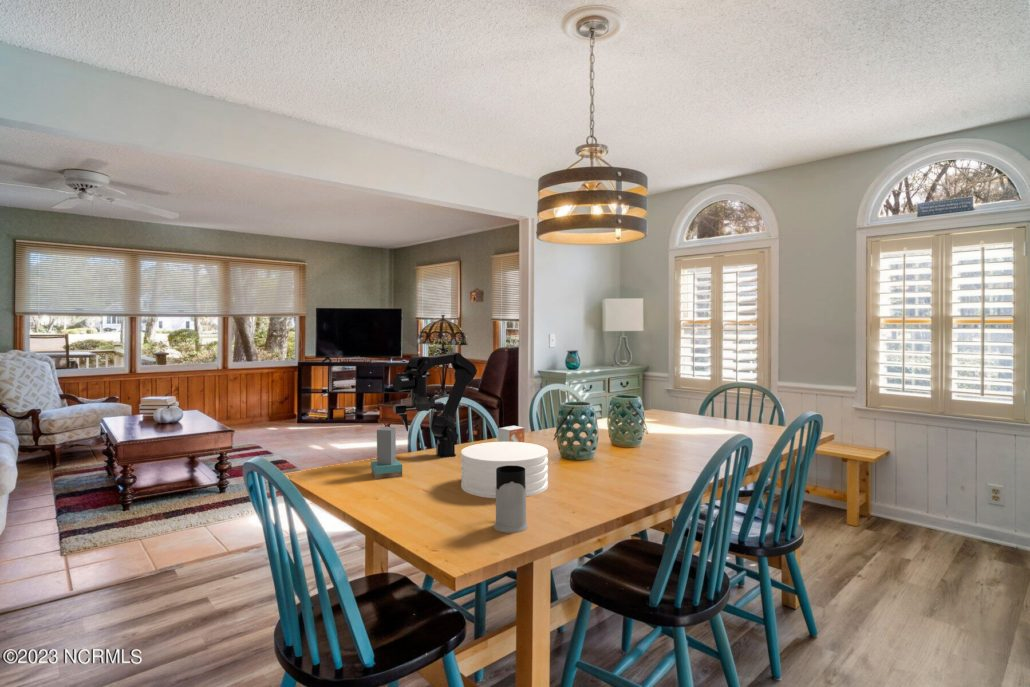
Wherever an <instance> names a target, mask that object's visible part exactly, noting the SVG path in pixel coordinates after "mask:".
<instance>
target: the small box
mask: <svg viewBox="0 0 1030 687" xmlns="http://www.w3.org/2000/svg"><path fill="white" fill-rule="evenodd" d="M497 433H498V437H497V438H498V441H497V442H524V443H525V427H523V426H518V425H509V426H504V427H499V428H498V432H497Z"/></svg>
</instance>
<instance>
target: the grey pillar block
mask: <svg viewBox="0 0 1030 687" xmlns="http://www.w3.org/2000/svg"><path fill="white" fill-rule="evenodd" d="M396 443H397V442H396V426H381V427H379V428H378V429H377V430H376V461H377V464H381V465H392V464H393V463H394V462H395V461H396V459H397V454H396V452H397V450H396V448H397V447H396V446H397V444H396Z"/></svg>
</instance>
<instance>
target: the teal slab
mask: <svg viewBox="0 0 1030 687" xmlns="http://www.w3.org/2000/svg"><path fill="white" fill-rule="evenodd" d="M370 469H371V471H372V470H373V471H374V473H375V474H384V473H393V472H402V473H403V464H402V463H401V462H400V461H399V460H398V459H397V458H396V461H395V462H394V463H393V464H392V465H381V464H377V460H371V461H370Z"/></svg>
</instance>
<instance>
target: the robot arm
mask: <svg viewBox="0 0 1030 687" xmlns="http://www.w3.org/2000/svg"><path fill="white" fill-rule="evenodd" d="M449 364H450V365H451V367H452V369H453V370H454V374H453V375H454V384H453V386H452V388H451V391H450V394H449V395H448V398H447V401H446V403H445V404H444V402H441V401H435V400H436V398H435V397H434V396H431V397H430V396H428V392H427V388H428V387H427V386H428V385H427V378H428V377H431V376H432V375H431V373H429V370H432V369H433V368H435V367H437V366H443V365H449ZM477 372H478V371H477V366H476V365H475V364H474V363H472V362H471V361H470V360H468V359H467V358H465V357H464V356H463V355H462V354H461V353H459V352H449V353H444V354H438V355H431V356H422V355H421V356H419V355H418V356H417V355H412V356H411V357H409V360H408V362H407V364H406V366H405V367H404V370H403V371H402V372H396V373H395V377H393V379H392V383H391V384H392V388H393V390H394V391H395V392H397V393H398V392H406V391H410V396H411V402H410V405H407V404H404V403H397V404H394V405H393V407H392V410H393V413H394V414H396V415H397V416H400V418H401V420H402V422H403V425H404V427H405V430H406V432H409V424H408V413H407V412H408V411H417V412H418V413H419V412H429V411H430V413H429V415H430V418H429V420H430V421H429V422H430V423H429V427H430V428H429V429H430V430H431V432H432V436H433V437H434V440H437V443H436V444H435V454H436V455H437V456H438V457H439V458H447V457H448V458H449V457H456V456H457V454H456V452H455V451H456V450H455V448H456V447H455V446H456V444H455V443H456V442H457V441H458V440H459V434H458V432H456V430H454V428H455V420H454V418H455V415H456V413H457V410H458V408H459V406H460V404H461V400H462V398H463V396H464V393H465V390H466V388H467V386H468V385H469V384H470V383H472V382H473V380H474V378H475V377H476V375H477ZM439 414H440V415H439Z"/></svg>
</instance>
